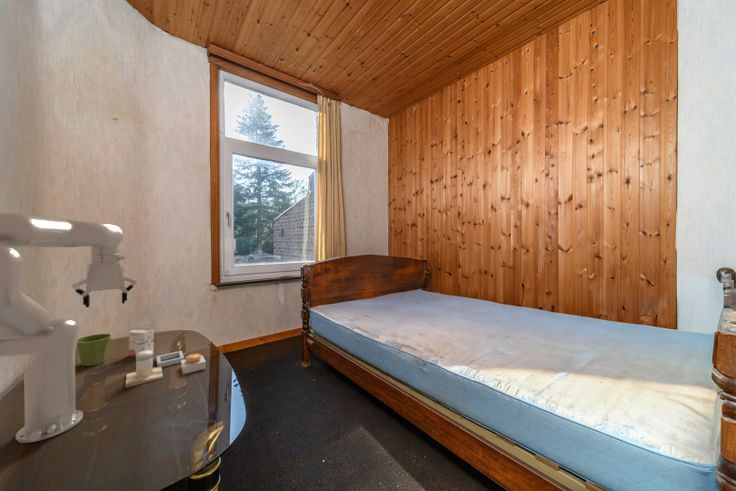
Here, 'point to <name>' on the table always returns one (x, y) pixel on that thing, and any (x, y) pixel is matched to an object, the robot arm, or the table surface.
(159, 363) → the filter socket
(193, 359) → the orange mushroom button
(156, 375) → the wooden pad
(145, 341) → the ink cartridge box
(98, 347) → the plant pot
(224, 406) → the table surface
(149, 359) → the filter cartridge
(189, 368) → the white square base
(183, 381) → the table surface
